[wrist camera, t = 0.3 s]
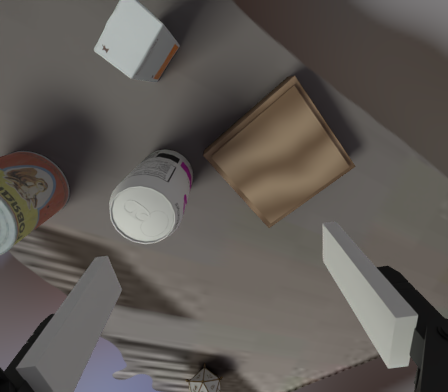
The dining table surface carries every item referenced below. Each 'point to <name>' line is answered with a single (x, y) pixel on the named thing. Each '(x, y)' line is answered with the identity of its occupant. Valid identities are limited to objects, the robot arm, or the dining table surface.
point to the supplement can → (152, 197)
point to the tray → (279, 153)
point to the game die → (204, 382)
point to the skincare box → (136, 42)
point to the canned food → (28, 195)
